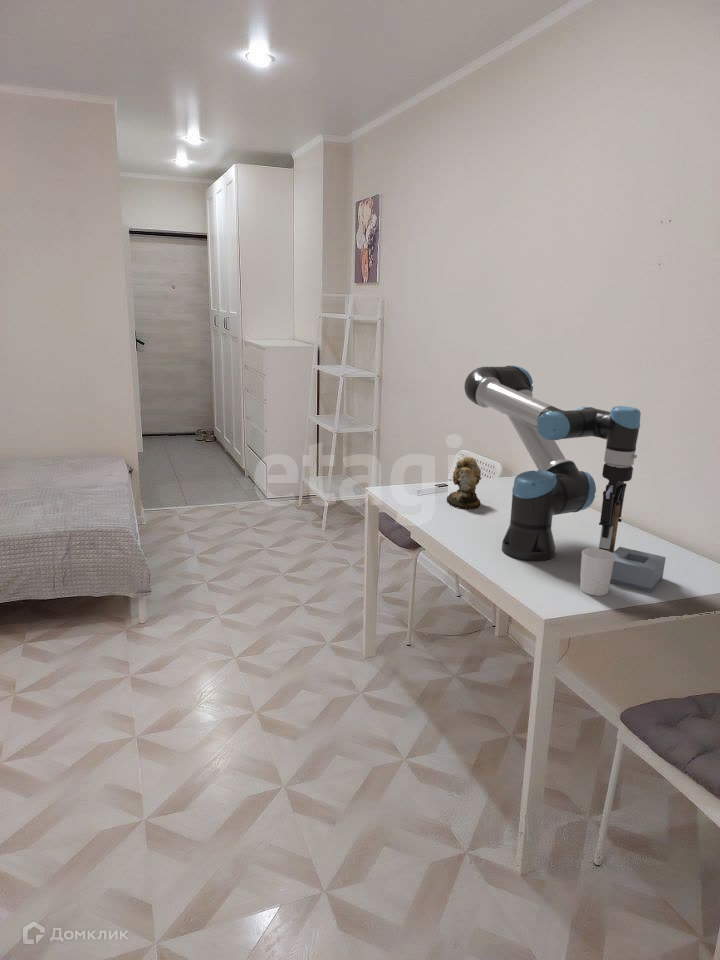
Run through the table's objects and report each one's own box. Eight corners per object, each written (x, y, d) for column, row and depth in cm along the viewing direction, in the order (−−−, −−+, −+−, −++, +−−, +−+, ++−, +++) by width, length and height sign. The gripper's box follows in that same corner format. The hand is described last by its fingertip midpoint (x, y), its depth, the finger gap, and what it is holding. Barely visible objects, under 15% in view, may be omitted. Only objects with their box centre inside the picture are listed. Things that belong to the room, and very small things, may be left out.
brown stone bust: (441, 495, 252) (444, 451, 248) (472, 495, 254) (475, 451, 249) (452, 509, 235) (455, 462, 231) (485, 509, 236) (489, 462, 232)
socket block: (603, 580, 177) (606, 558, 176) (616, 567, 187) (619, 546, 185) (651, 592, 170) (654, 570, 169) (662, 578, 180) (665, 557, 178)
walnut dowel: (596, 556, 188) (603, 505, 184) (600, 552, 191) (607, 501, 187) (610, 559, 185) (618, 508, 181) (614, 555, 189) (622, 504, 185)
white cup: (609, 599, 166) (614, 561, 163) (576, 593, 168) (580, 556, 166) (610, 587, 173) (615, 551, 170) (578, 582, 175) (582, 546, 173)
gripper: (623, 472, 172) (611, 557, 179) (641, 461, 186) (629, 540, 192) (594, 467, 177) (583, 550, 183) (613, 456, 190) (602, 534, 196)
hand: (607, 545), depth 187 cm, fingers closed on walnut dowel, 4 cm apart
